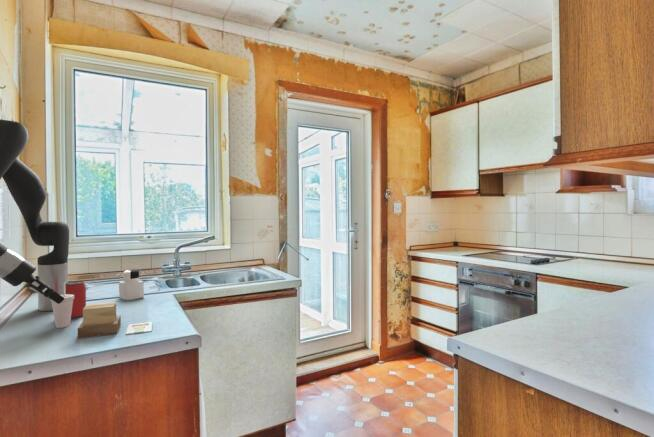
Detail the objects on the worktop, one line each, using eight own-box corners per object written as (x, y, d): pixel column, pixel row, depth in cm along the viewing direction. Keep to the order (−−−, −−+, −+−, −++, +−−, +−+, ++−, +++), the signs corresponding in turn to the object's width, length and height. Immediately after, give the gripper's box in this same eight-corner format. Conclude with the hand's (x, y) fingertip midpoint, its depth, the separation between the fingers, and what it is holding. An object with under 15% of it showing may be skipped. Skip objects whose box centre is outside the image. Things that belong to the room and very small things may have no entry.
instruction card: (128, 325, 119) (128, 324, 119) (152, 322, 122) (152, 321, 122) (125, 334, 109) (125, 333, 109) (151, 331, 112) (151, 330, 112)
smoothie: (78, 325, 119) (78, 282, 119) (55, 330, 114) (55, 285, 114) (69, 321, 123) (68, 280, 122) (46, 327, 117) (46, 283, 117)
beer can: (74, 319, 126) (74, 284, 126) (58, 318, 127) (58, 283, 127) (90, 314, 132) (90, 281, 132) (75, 313, 134) (74, 280, 133)
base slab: (84, 328, 116) (84, 319, 116) (120, 324, 120) (120, 315, 120) (77, 338, 106) (77, 328, 106) (116, 333, 110) (116, 323, 110)
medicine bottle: (135, 295, 162) (135, 268, 162) (144, 297, 158) (143, 269, 158) (118, 298, 156) (118, 270, 156) (127, 300, 152) (126, 272, 152)
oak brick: (87, 320, 114) (86, 304, 114) (116, 317, 117) (116, 301, 117) (83, 325, 109) (82, 309, 109) (113, 322, 112) (113, 306, 112)
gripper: (26, 259, 106) (73, 292, 114) (20, 255, 116) (64, 286, 124) (2, 280, 102) (53, 313, 111) (-3, 274, 112) (45, 304, 121)
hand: (59, 299), depth 117 cm, fingers open, 8 cm apart
